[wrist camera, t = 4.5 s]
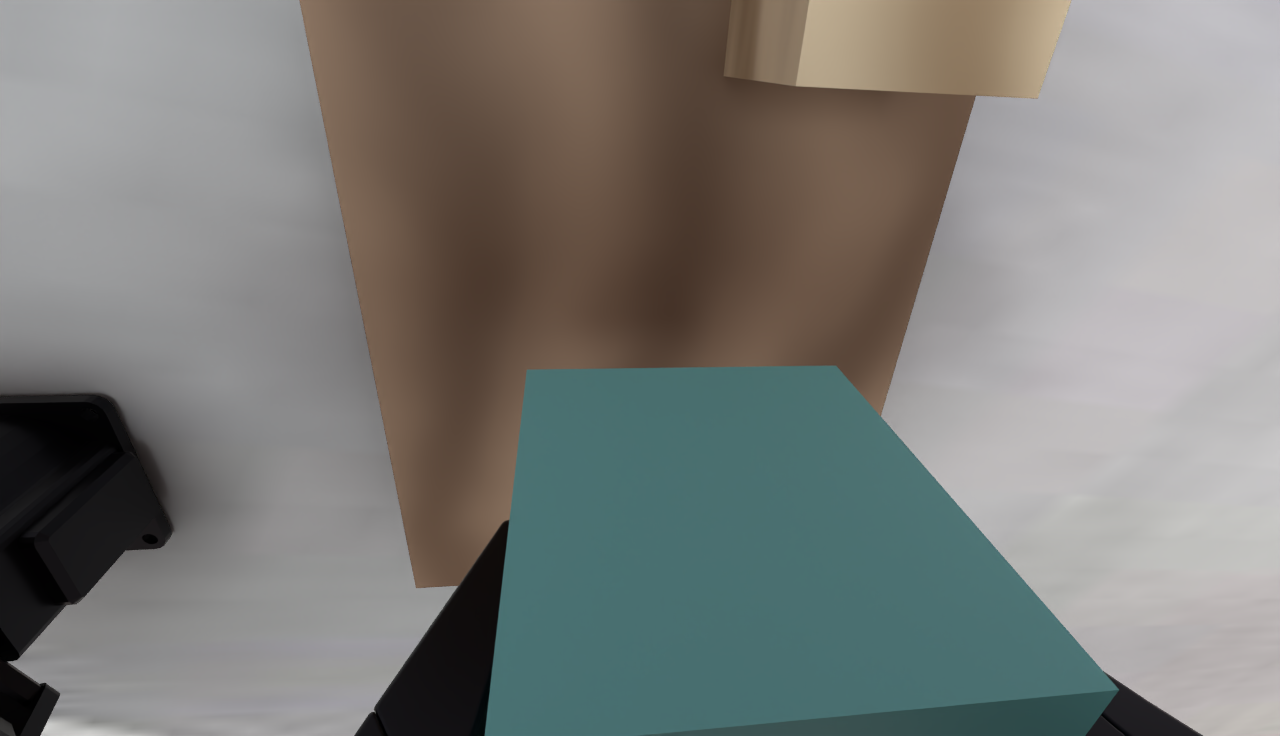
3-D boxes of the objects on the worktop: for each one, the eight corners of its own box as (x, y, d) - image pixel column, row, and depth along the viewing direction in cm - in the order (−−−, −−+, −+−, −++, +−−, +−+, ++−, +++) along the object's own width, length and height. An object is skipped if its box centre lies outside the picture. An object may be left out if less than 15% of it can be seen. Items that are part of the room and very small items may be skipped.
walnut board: (422, 565, 24) (416, 588, 23) (268, -263, 12) (241, -293, 11) (826, 542, 27) (836, 562, 25) (1025, -174, 15) (1060, -192, 14)
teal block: (538, 594, 11) (519, 1000, 6) (526, 369, 9) (482, 749, 4) (784, 579, 12) (935, 938, 7) (835, 365, 9) (1119, 689, 5)
